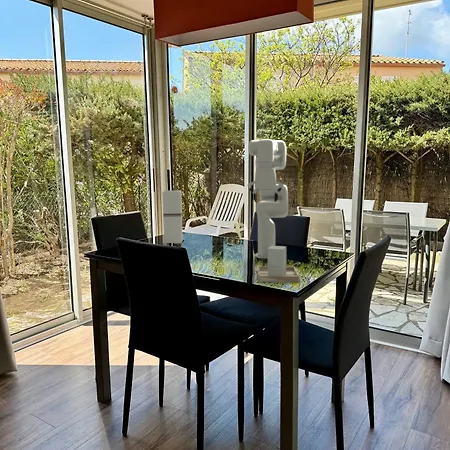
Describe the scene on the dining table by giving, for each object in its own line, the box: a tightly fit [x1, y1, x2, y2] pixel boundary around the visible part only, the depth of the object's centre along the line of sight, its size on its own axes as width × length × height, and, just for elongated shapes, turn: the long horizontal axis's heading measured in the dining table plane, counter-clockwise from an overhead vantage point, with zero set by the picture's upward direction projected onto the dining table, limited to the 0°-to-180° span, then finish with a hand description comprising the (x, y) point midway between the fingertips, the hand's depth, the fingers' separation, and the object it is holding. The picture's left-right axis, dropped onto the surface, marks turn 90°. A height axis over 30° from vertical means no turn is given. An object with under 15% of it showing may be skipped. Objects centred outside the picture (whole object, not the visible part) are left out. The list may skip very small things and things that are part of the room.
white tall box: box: [162, 190, 183, 245], centre depth 268 cm, size 11×11×35 cm
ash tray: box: [256, 266, 301, 283], centre depth 191 cm, size 18×18×2 cm
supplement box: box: [267, 245, 287, 276], centre depth 190 cm, size 7×7×13 cm
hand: (265, 201), depth 200 cm, fingers open, 9 cm apart
